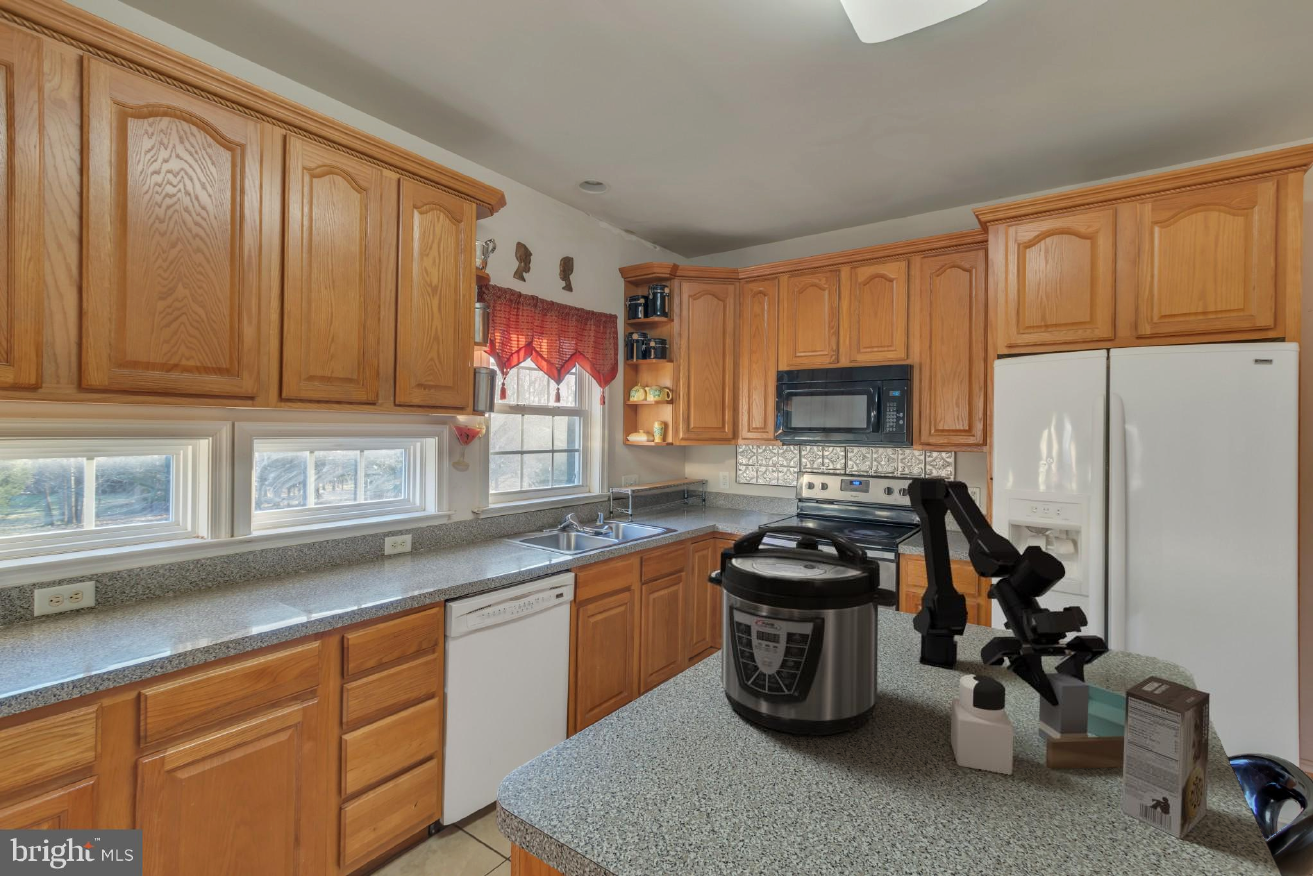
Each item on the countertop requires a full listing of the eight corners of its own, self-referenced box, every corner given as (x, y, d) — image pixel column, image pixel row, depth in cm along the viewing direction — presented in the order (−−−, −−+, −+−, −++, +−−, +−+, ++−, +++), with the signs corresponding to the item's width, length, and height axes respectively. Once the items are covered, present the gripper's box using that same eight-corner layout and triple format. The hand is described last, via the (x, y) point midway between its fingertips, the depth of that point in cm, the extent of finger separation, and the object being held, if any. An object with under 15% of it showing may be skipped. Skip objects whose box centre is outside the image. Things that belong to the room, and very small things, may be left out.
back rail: (1046, 765, 88) (1046, 738, 88) (1120, 762, 89) (1121, 736, 89) (1051, 769, 87) (1052, 742, 87) (1126, 766, 88) (1127, 739, 88)
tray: (1041, 714, 104) (1042, 696, 104) (1075, 695, 111) (1075, 679, 111) (1137, 750, 93) (1138, 730, 92) (1167, 726, 100) (1167, 708, 100)
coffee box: (1146, 789, 82) (1150, 674, 82) (1208, 816, 77) (1212, 692, 77) (1118, 811, 77) (1123, 688, 77) (1182, 841, 72) (1187, 709, 72)
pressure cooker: (681, 686, 112) (685, 519, 112) (794, 660, 126) (798, 511, 125) (790, 767, 86) (796, 549, 85) (918, 722, 100) (923, 535, 99)
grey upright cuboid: (1038, 735, 95) (1040, 673, 94) (1064, 734, 95) (1066, 673, 95) (1059, 751, 90) (1062, 686, 90) (1087, 750, 90) (1089, 685, 90)
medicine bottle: (1001, 751, 92) (1003, 674, 91) (1012, 776, 85) (1015, 693, 85) (950, 742, 94) (952, 667, 94) (957, 766, 87) (959, 685, 87)
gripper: (994, 587, 95) (1042, 686, 84) (1101, 586, 97) (1162, 683, 86) (962, 619, 103) (1003, 713, 92) (1062, 618, 105) (1114, 710, 94)
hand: (1070, 705), depth 91 cm, fingers closed on grey upright cuboid, 4 cm apart
